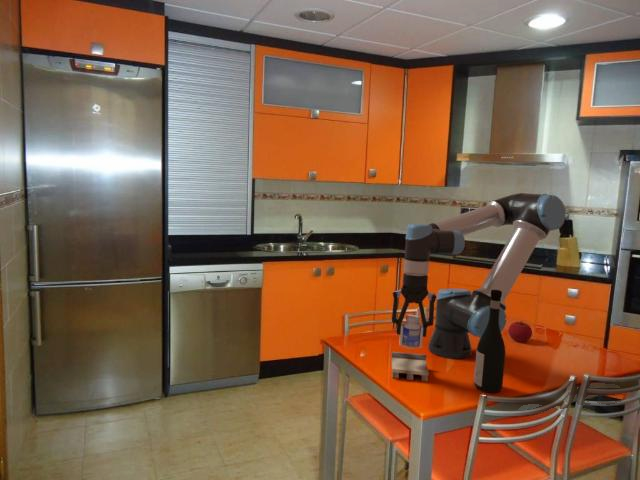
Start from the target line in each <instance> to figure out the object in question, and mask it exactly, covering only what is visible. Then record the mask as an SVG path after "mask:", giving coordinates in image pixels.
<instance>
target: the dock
mask: <svg viewBox="0 0 640 480" xmlns="http://www.w3.org/2000/svg"><path fill="white" fill-rule="evenodd" d="M391 372H392V374H391V375H392V379H395V380H396V379H397V380H398V379H399V377H400V376H399V374H405V376H406V380H408V381H413V380H414V375H419V377H420V380H421V382H428V381H429V380H428V379H429V377H428V376H429V375H430V374H429V372H430V371H429V368H428V364H427V355H426V354H422V353H420V354H419V353H411V352H410V353H409V352H399V351H391Z"/></svg>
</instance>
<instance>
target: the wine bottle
mask: <svg viewBox="0 0 640 480" xmlns="http://www.w3.org/2000/svg"><path fill="white" fill-rule="evenodd" d="M501 297H502V291H500V290H491V303H490V315H489V321H488V324H487V327H486V329H485V331H484V333H483V334H482V336H481V338H479V340H478V343H477V347H476V352H475V353H476V355H475V364H474V365H475V366H474V376H473V385H474V386H475V388H477V389H478V390H479V391H482V392H485V393H490V394H493V393H498V392H500V391H502V389H503V383H504V375H505V374H504V372H505V363H506V346H505V342H504V338H503V334H502V332H501V331H500V327H499V311H500V301H501Z"/></svg>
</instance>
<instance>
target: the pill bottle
mask: <svg viewBox="0 0 640 480" xmlns="http://www.w3.org/2000/svg"><path fill="white" fill-rule="evenodd" d="M402 324H403V340H402V346H401V347H403V348H406V349H411V350H415V349H418V348H419V339H420V328H421V325H422V324H420V316H418V315H417V314H416V315H414V314H407V315H406V316H405V321H404V322H403V323H402Z"/></svg>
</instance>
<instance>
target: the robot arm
mask: <svg viewBox="0 0 640 480" xmlns="http://www.w3.org/2000/svg"><path fill="white" fill-rule="evenodd" d="M565 208H566V207H565V204H564V202H563V201H562V199H561V198H559V197H558V196H557V195H554V194H548V193H542V194H541V193H525V192H524V193H521V192H520V193H515V194H509V195H507V196H504V197H501V198H497V199H494V200H492V201H489V202H488V203H486V205H485V206H482V207H478V208H475V209H473V210H470V211H465V212H464V213H460V214H456V215H454V216H451V217H447V218H444V219H441V220H438V221H434V222H431V223H429V224H426V223H413V222H412V223H410V224H408V225H407V228H406V235H405V249H404V250H405V251H404V262H403V271H404V273H403V274H402V277H403V279H402V286H401V288H400V289H399V290H392V296H393V297H392V298H393V305H392V312H391V322H392V323H393V324H396V334H397V335H398V336H399V343H398V344H399V347H403V346H402V340H403V324H404V323H403V320H404V317H406V316H405V315H406V314H407V310H408V307H409V305H410V304H417V305H418V307H419V313H420V318H421V322H422V324H420V325H421V328H420V339H419V347H418V348H419V349H421V348H422V347H423V338H426V337H427V330H428V327H433V326H434V329H433V332H432V334H431V336H430V339H429V341H428V346H427V347H428V351H429V352H430V353H432V354H434V355H437V356H438V357H439V356H440V357H443V358H449V359H465V358H466V359H467V358H468V357H471V356H472V344H471V340H470V337H469V336H470V335H469V334H471V335H472V336H473V337H477V338H479V339H480V338H481V336H482V334H483V333H484V331H485V329H486V327H487V324H488V321H489V315H490V303H491V290H500V291H502V297H501V301H500V311H499V327H500V331H501V333H502V332H503V330H504V329H505V327H506V323H507V320H506V319H507V314H506V312H505V311H506V309H507V305H506V299H507V298H508V296H509V294H510V292H511V290H512V288H513V287H514V285H515V283H516V281H517V280H518V278H519V276H520V275H521V273H522V271H523V269H524V267H525V266H526V264H527V262H528V260H529V259H530V257H531V255H532V253H533V251H535V250H534V249H535V248H536V246H537V244H538V243H539V241H542V240H545V239H547V237H548V236H549V235H548V234H549V233H550V232H551V231H556V230H559V229H560V228H561V227H562V226H563V225H564V223H565V219H566V209H565ZM508 225H509V226H511V225H512V226H513V228H514V229H513V230H512V233H511V234H510V236H509V238H508V239H507V241H506V243H505V245H504V247H503V248H502V249H501V252H500V254H499V255H498V257H497V258H496V260H495V261H494V264H493V265H492V267H491V269H490V271H489V273H488V275H486V278H485V280H484V281H483V283H482V285H481V287H479V288H476V289H474V290H473V291H471V290H469V289H465V288H443V289H442V288H441V289H439V290H438V292H437V294H436V293H434V292H433V293H431V292H429V290H428V279H429V276H428V274H429V269H430V268H429V266H430V256H431V255H450V256H452V255H459V254H461V253H462V252H464V249H465V247H466V246H465V242H466V240H465V236H466V235H470V234H472V233H475V232H477V231H482V230H484V229H487V228H490V227H496V228H498V227H503V226H508ZM401 295H402V297H403V298H404V302H403V305H402V307H401V309H400V313H399V316H398V318H397V313H398V303H399V298H400V296H401ZM426 297H427V298H428V300H429V302H428V303H429V304H428V305H429V306H428V321H427V319H426V313H425V309H424V304H423V301H424V300H425V299H426ZM435 302H436V307H435ZM435 308H436V309H435ZM434 312H435V314H434ZM434 315H435V319H434ZM434 320H435V323H434Z"/></svg>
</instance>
